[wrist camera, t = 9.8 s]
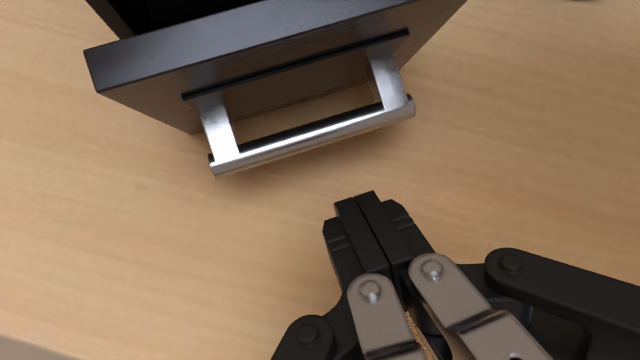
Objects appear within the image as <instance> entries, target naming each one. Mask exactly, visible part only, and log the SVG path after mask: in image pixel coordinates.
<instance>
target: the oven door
mask: <svg viewBox="0 0 640 360" xmlns="http://www.w3.org/2000/svg"><path fill="white" fill-rule="evenodd" d="M466 1H467V0H261V1H257V2H254V3H250V4H247V5H243V6H239V7H236V8H232V9H229V10H225V11H222V12H218V13H214V14H211V15H207V16H204V17H200V18H197V19H193V20H189V21H186V22H182V23H179V24H175V25H171V26H168V27H164V28H161V29H157V30H154V31H150V32H146V33H143V34H139V35H136V36H132V37H129V38H125V39H121V40H118V41H114V42H111V43H107V44H104V45H100V46H96V47H93V48H89V49H86V50H84V51H83V53H84V56H85V60H86V63H87V66H88V69H89V72H90V75H91V78H92V81H93V84H94V87H95V90H96V92H97V93H98V94H101V95H103V96H105V97H107V98H110V99H112V100H114V101H116V102H118V103H121V104H123V105H125V106H127V107H130V108H132V109H134V110H136V111H139V112H141V113H143V114H145V115H147V116H150V117H152V118H154V119H156V120H159V121H161V122H163V123H165V124H168V125H170V126H172V127H174V128H177V129H179V130H181V131H183V132H185V133H188V134H190V135H192V134H195V133H199V132H202V131H205V134H206V137H207V140H208V143H209V146H210V149H211V152H212V153H210V154H208V162H209V165H210V168H211V171H212V173H213V175H214V177H215V178H216V179H218V178H221V177H224V176H227V175H231V174H234V173H237V172H240V171H244V170H247V169H250V168H253V167H256V166H260V165H263V164H266V163H269V162H273V161H276V160H279V159H282V158H285V157H289V156H292V155H295V154H298V153H302V152H305V151H308V150H311V149H314V148H318V147H321V146H324V145H327V144H331V143H334V142H337V141H340V140H343V139H347V138H350V137H353V136H356V135H360V134H363V133H366V132H369V131H372V130H376V129H379V128H382V127H385V126H389V125H392V124H395V123H398V122H401V121H405V120H408V119H411V118H414V117H415V115H416V108H415V103H414V101H413V98H412V97H411V95H410V94H408V93H405V90H404V86H403V83H402V80H401V77H400V73H399V70H400V69H401V68H402V67H403V66H404V65H405V64H406V63H407V62H408V61H409V60H410V59H411V58H412V57H413V56H414V55H415V54H416V53H417V52H418V51H419V49H420V48H421V47H422V46H423V45H424V44H425V43H426V42H427V41H428V40H429V39H430V38H431V37H432V36H433V35H434V34H435V33H436V32H437V31H438V30H439V29H440V28H441V27H442V26H443V25H444V24H445V23H446V22H447V21H448V20H449V19H450V18H451V17H452V16H453V15H454V14H455V13H456V12H457V11H458V9H459V8H460V7H461V6H462V5H463V4H464V3H465V2H466ZM368 81H369V84H370V87H371V90H372V93H373V97H374V100H375V103H374V104H370V105H367V106H364V107H360V108H357V109H354V110H351V111H347V112H344V113H341V114H338V115H334V116H331V117H328V118H324V119H321V120H318V121H315V122H311V123H308V124H305V125H302V126H298V127H295V128H292V129H288V130H285V131H282V132H279V133H275V134H272V135H269V136H265V137H262V138H259V139H256V140H252V141H249V142H246V143H243V144H240V143H239V140H238V137H237V134H236V131H235V127H234V124H233V122H235V121H238V120H242V119H245V118H248V117H252V116H255V115H258V114H262V113H265V112H268V111H272V110H275V109H278V108H282V107H285V106H288V105H292V104H295V103H298V102H302V101H305V100H308V99H312V98H315V97H318V96H321V95H325V94H328V93H331V92H335V91H338V90H341V89H345V88H348V87H351V86H355V85H358V84H361V83H365V82H368Z"/></svg>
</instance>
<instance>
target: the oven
mask: <svg viewBox="0 0 640 360" xmlns="http://www.w3.org/2000/svg"><path fill="white" fill-rule="evenodd" d="M257 1H261V0H86V2H87V3H88V4H89V5H90V6H91V7H92V8H93V9H94V11H95V12H96V13H97V14H98V15H99V16H100V17H101V18H102V20H103V21H104V22H105V23H106V24H107V25H108V26H109V27H110V29H111V30H112V31H113V32H114V33H115V34H116V35H117V36H118V37H119V39H120V40H121V39H125V38H129V37H132V36H136V35H139V34H143V33H146V32H150V31H154V30H157V29H161V28H164V27H168V26H171V25H175V24H179V23H182V22H186V21H189V20H193V19H197V18H200V17H204V16H207V15H211V14H214V13H218V12H222V11H225V10H229V9H232V8H236V7H239V6H243V5H247V4H250V3H254V2H257Z"/></svg>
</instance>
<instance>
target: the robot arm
mask: <svg viewBox="0 0 640 360" xmlns="http://www.w3.org/2000/svg"><path fill="white" fill-rule="evenodd" d="M334 208H335V212H336V216H337V217H334V218H331V219H328V220H325V221H324V226H323V231H322V232H323V236H324V239H325V243H326V246H327V250H328V253H329V257H330V260H331V263H332V266H333V269H334V271H335V274H336V277H337V280H338V282H339V285H340V288H341V291H342V295H341V298H340V300H339V302H338V303H337V305H336V306H335V307H334V308H333V309H332V310H330V311H329V312H328V313H326V314H325V315H323V316H319V315H306V316H302V317H300V318H298V319H297V320H295V321H294V322H293V323H292V324H291V325H290V326H289V327H288V329H287V330H286V332H285V334H284V336H283V338H282V340H281V341H280V343H279V345H278V347H277V349H276V351H275V352H274V354H273V356H272V358H271V360H427V357H426V355H425V353H424V350H423V348H422V346H421V345H420V343H417V342H416V340H415V338H414V335H413V333H412V330H411V328H410V325H409V323H408V320H407V318H406V315H405V313H404V312H407V311H408V312H409V314H410V316H411V318H412V320H413V322H414V324H415V326H416V331H417V333H418V335H419V336H420V338H421V339H422V341H423V343H424V344H425V346H426V348H427V349H428V351H429V352H430V354H431V356H432V357H433V359H434V360H640V286H637V285H634V284H630V283H627V282H624V281H620V280H617V279H614V278H611V277H607V276H604V275H601V274H598V273H594V272H591V271H588V270H584V269H581V268H578V267H575V266H571V265H568V264H565V263H562V262H558V261H555V260H552V259H548V258H545V257H542V256H539V255H535V254H532V253H529V252H526V251H522V250H519V249H515V248H499V249H496V250H493V251H492V252H490V253H489V254H488V255H487V256H486V258H485V263H481V264H455V263H454V262H453V261H452V260H451V259H449V258H448V257H446V256H444V255H441V254H437V253H436V252H435V251H434V250H433V248H432V247H431V245H430V244H429V243H428V241H427V240H426V238H425V237H424V236H423V234H422V233H421V231H420V230H419V228H418V227H417V226H416V225H415V223H414V221H413V220H412V218H411V217H410V216H409V214H408V213H407V211H406V210H405V208H404V207H403V206H402V205H401V204H399V203H397V202H395V201H394V200H392V199H390V200H387V201H384V202H381V201H380V200H379V198H378V197H377V195H376V194H375V192H374V191H373V190H372V191H369V192H366V193H363V194H360V195H357V196H354V198H353V197H350V198H347V199H344V200H341V201H338V202H335V203H334Z"/></svg>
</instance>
